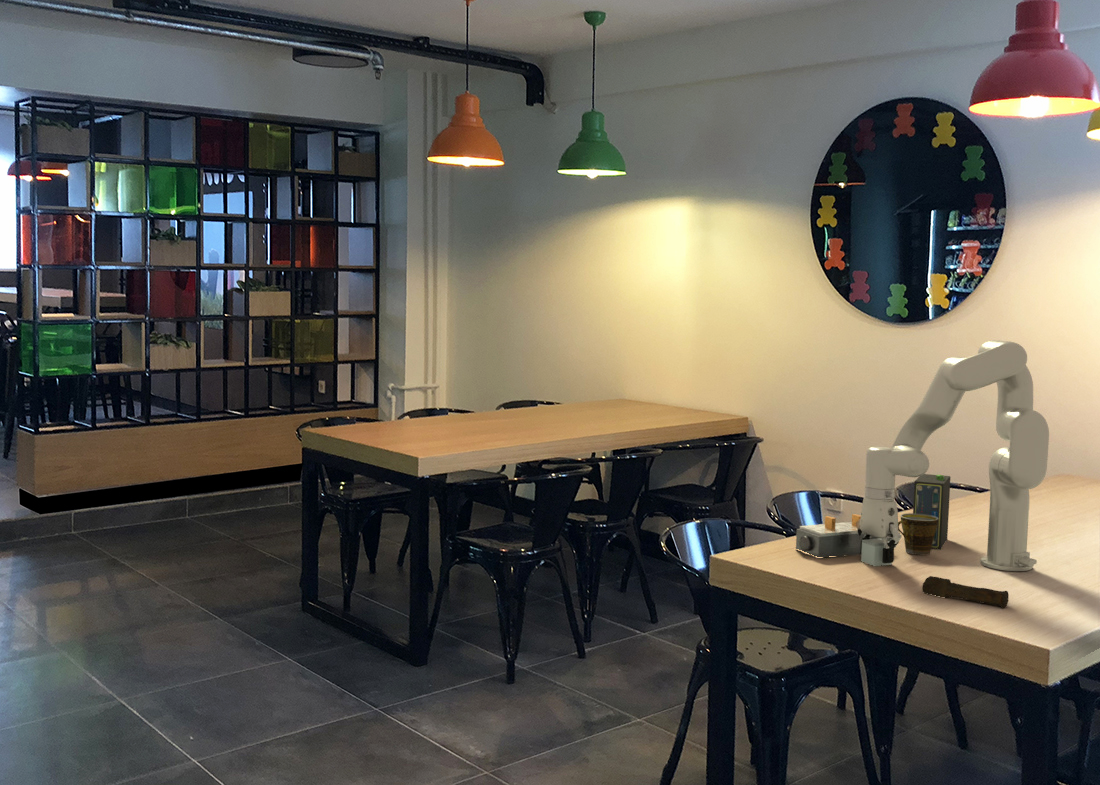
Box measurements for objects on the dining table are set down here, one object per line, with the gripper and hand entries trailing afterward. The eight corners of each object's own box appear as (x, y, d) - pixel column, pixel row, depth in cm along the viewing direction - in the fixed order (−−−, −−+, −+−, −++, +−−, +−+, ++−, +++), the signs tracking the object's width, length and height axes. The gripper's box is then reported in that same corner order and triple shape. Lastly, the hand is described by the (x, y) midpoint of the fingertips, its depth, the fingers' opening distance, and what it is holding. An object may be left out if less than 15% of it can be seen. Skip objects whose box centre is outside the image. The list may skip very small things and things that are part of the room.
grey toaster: (889, 551, 286) (890, 517, 285) (814, 559, 276) (815, 523, 276) (865, 543, 295) (866, 510, 294) (792, 550, 286) (793, 515, 285)
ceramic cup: (917, 546, 293) (919, 512, 292) (944, 554, 284) (946, 519, 283) (883, 550, 287) (884, 515, 286) (909, 558, 278) (911, 522, 277)
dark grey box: (910, 547, 292) (913, 477, 290) (919, 535, 308) (922, 469, 306) (940, 551, 288) (943, 480, 286) (948, 538, 304) (951, 471, 302)
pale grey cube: (891, 564, 272) (892, 542, 272) (873, 566, 270) (874, 544, 269) (879, 560, 277) (880, 538, 276) (861, 562, 274) (862, 540, 274)
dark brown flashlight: (1009, 606, 235) (1010, 586, 235) (1005, 610, 232) (1006, 590, 232) (926, 591, 247) (927, 572, 247) (920, 595, 244) (921, 576, 244)
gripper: (913, 498, 265) (910, 565, 266) (868, 487, 281) (866, 550, 282) (890, 500, 262) (887, 567, 264) (846, 489, 278) (844, 552, 280)
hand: (876, 558), depth 273 cm, fingers open, 8 cm apart
